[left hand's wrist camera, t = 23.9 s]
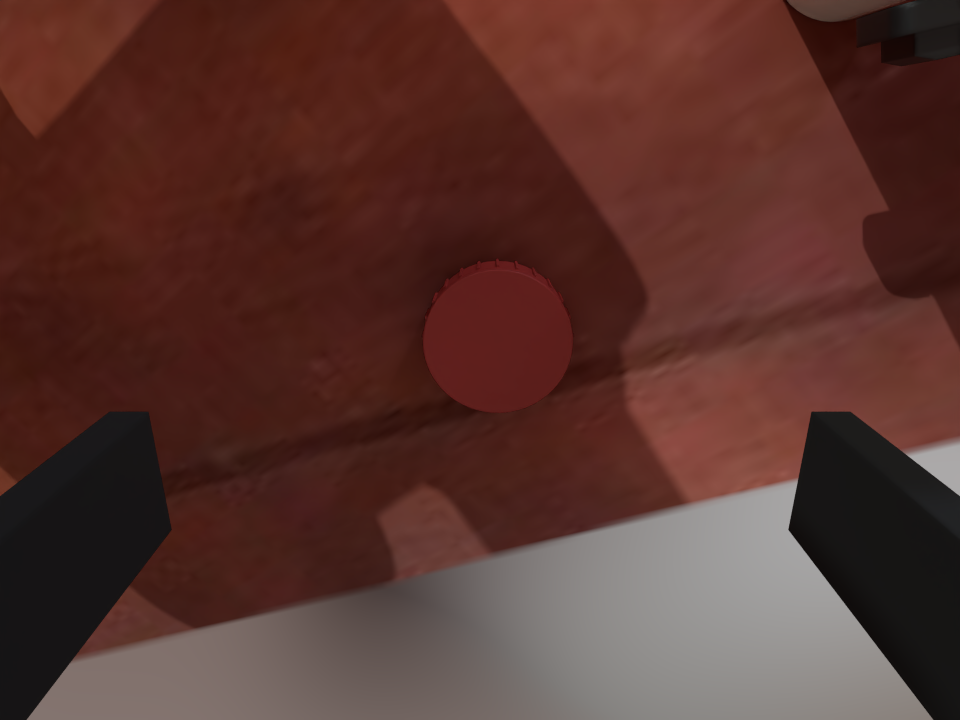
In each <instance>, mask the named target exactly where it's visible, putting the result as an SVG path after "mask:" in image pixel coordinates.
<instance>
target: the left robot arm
mask: <svg viewBox="0 0 960 720" xmlns="http://www.w3.org/2000/svg"><path fill="white" fill-rule="evenodd" d="M171 530H172V529H171V524H170V519H169V514H168V509H167V504H166V499H165V494H164V489H163V484H162V479H161V473H160V468H159V463H158V458H157V453H156V448H155V443H154V438H153V433H152V428H151V423H150V418H149V413H148V412H109V413H107V414H106V415H105V416H103V417H102V418H101V419H100V420H98V421H97V422H96V423H94V424H93V425H92V426H91V427H89V428H88V429H87V430H85V431H84V432H83V433H81V434H80V435H79V436H78V437H76V438H75V439H74V440H72V441H71V442H70V443H69V444H67V445H66V446H65V447H63V448H62V449H61V450H59V451H58V452H57V453H56V454H54V455H53V456H52V457H50V458H49V459H48V460H46V461H45V462H44V463H43V464H41V465H40V466H39V467H37V468H36V469H35V470H34V471H32V472H31V473H30V474H28V475H27V476H26V477H24V478H23V479H22V480H21V481H19V482H18V483H17V484H15V485H14V486H13V487H12V488H10V489H9V490H8V491H6V492H5V493H4V494H2V495H1V496H0V720H27V718H28V717H29V716H30V715H31V713H32V712H33V711H34V709H35V708H36V707H37V705H38V704H39V703H40V701H41V700H42V699H43V698H44V696H45V695H46V694H47V692H48V691H49V690H50V688H51V687H52V686H53V684H54V683H55V682H56V680H57V679H58V678H59V677H60V675H61V674H62V673H63V671H64V670H65V669H66V667H67V666H68V665H69V663H70V662H71V661H72V660H73V658H74V657H75V656H76V654H77V653H78V652H79V650H80V649H81V648H82V646H83V645H84V644H85V643H86V641H87V640H88V639H89V637H90V636H91V635H92V633H93V632H94V631H95V629H96V628H97V627H98V625H99V624H100V623H101V622H102V620H103V619H104V618H105V616H106V615H107V614H108V612H109V611H110V610H111V608H112V607H113V606H114V605H115V603H116V602H117V601H118V599H119V598H120V597H121V595H122V594H123V593H124V591H125V590H126V589H127V587H128V586H129V585H130V584H131V582H132V581H133V580H134V578H135V577H136V576H137V574H138V573H139V572H140V570H141V569H142V568H143V567H144V565H145V564H146V563H147V561H148V560H149V559H150V557H151V556H152V555H153V553H154V552H155V551H156V550H157V548H158V547H159V546H160V544H161V543H162V542H163V540H164V539H165V538H166V536H167V535H168V534H169V532H170V531H171ZM789 531H790V532H791V534H792V535H793V536H794V538H795V539H796V540H797V542H798V543H799V544H800V546H801V547H802V548H803V550H804V551H805V552H806V553H807V555H808V556H809V557H810V559H811V560H812V561H813V563H814V564H815V565H816V567H817V568H818V569H819V570H820V572H821V573H822V574H823V576H824V577H825V578H826V580H827V581H828V582H829V584H830V585H831V586H832V588H833V589H834V590H835V591H836V593H837V594H838V595H839V597H840V598H841V599H842V601H843V602H844V603H845V605H846V606H847V607H848V608H849V610H850V611H851V612H852V614H853V615H854V616H855V618H856V619H857V620H858V622H859V623H860V624H861V625H862V627H863V628H864V629H865V631H866V632H867V633H868V635H869V636H870V637H871V639H872V640H873V641H874V642H875V644H876V645H877V646H878V648H879V649H880V650H881V652H882V653H883V654H884V656H885V657H886V658H887V659H888V661H889V662H890V663H891V665H892V666H893V667H894V669H895V670H896V671H897V673H898V674H899V675H900V677H901V678H902V679H903V680H904V682H905V683H906V684H907V686H908V687H909V688H910V690H911V691H912V692H913V694H914V695H915V696H916V698H917V699H918V700H919V701H920V703H921V704H922V705H923V707H924V708H925V709H926V711H927V712H928V713H929V715H930V716H931V717H932V718H933V720H960V496H959V495H957V494H956V493H955V492H954V491H952V490H951V489H950V488H948V487H947V486H946V485H945V484H943V483H942V482H941V481H939V480H938V479H937V478H935V477H934V476H933V475H932V474H930V473H929V472H928V471H926V470H925V469H924V468H923V467H921V466H920V465H919V464H917V463H916V462H915V461H913V460H912V459H911V458H910V457H908V456H907V455H906V454H904V453H903V452H902V451H901V450H899V449H898V448H897V447H895V446H894V445H893V444H891V443H890V442H889V441H888V440H886V439H885V438H884V437H882V436H881V435H880V434H879V433H877V432H876V431H875V430H873V429H872V428H871V427H869V426H868V425H867V424H866V423H864V422H863V421H862V420H860V419H859V418H858V417H856V416H855V415H854V414H853V413H851V412H812V413H811V418H810V423H809V428H808V433H807V438H806V443H805V448H804V453H803V458H802V463H801V468H800V473H799V479H798V484H797V489H796V494H795V499H794V504H793V509H792V514H791V519H790V524H789Z"/></svg>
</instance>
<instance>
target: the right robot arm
mask: <svg viewBox="0 0 960 720" xmlns="http://www.w3.org/2000/svg"><path fill="white" fill-rule="evenodd" d="M856 36H857V47H862V46H866V45H870V44H875V43H879V42H881V63H887V64H892V65H898V66H905V65H911V64H916V63H922V62H927V61H933V60H938V59H942V58H947V57H951V56H955V55H960V0H917V1H913V2H909V3H905V4H901V5H898V6H894V7H891V8H887V9H884V10H881V11H878V12H875V13H872V14H869V15H866V16H863V17H860V18H857V19H856Z"/></svg>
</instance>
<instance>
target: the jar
mask: <svg viewBox="0 0 960 720" xmlns="http://www.w3.org/2000/svg"><path fill="white" fill-rule="evenodd" d="M787 1H788V3H789V4H790V5H791V6H793V7H794V8H795V9H796V10H797V11H799V12H800V13H802V14H804V15H805V16H808V17H810V18H812V19H816V20H820V21H827V22H838V21H845V20H850V19H853V18H856V17H860V16H862V15H865V14H868V13H871V12H874V11H877V10H880V9H883V8H886V7H889V6H892V5H895V4H898V3H901V2H904V1H907V0H787Z"/></svg>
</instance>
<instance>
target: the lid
mask: <svg viewBox="0 0 960 720" xmlns="http://www.w3.org/2000/svg"><path fill="white" fill-rule="evenodd" d="M563 302H564V301H563V298H562V296H561V294H560V292H556V290H555V289H554V287H553V286H552V285H551V283H550V280H549V279H548V278H547V279H545V278H544V277H543V276H542V275H540V274H539V273H537V272H536V271H535V268H533V267H532V268H531V269H530V268H528V267H526V266H523V265H520V264H518V262H517V261H514V263H513V262H508V261H499V259H496V261H487V262H482V263H481V262H480V261H478V262H477V264H475V265H472V266H469V267H467V268H465V269H463V268H461V269H460V272H458V273H457V274H455V275H454V276H453V277H451V278H450V279H448V278H447V279H446V281H445V284H444V285H443V287H442V288H441V289H440V290H439V292H438V293H437V292H436V293H435V294H434V297H433V300H432V305H431V308H428V310H427V313H426V316H425V320H426V323H425V326H424V330H423V333H422V337H423V351H424V352H423V353H424V356H425V360H426V364H427V366H428V369H429V371H430V373H431V375H432V377H433V378H434V380H435V381H436V383H437V384H438V385H439V387H440V388H441V389H442V390H443V391H444V392H445V393H446V394H448V395H449V396H450V397H451V398H453V399H454V400H456V401H457V402H459V403H461V404H462V405H465V406H467V407H469V408H472V409H475V410H478V411H484V412H491V413H505V412H512V411H517V410H520V409H523V408H526V407H528V406H531V405H533V404H535V403H536V402H538V401H540V400H541V399H543V398H544V397H545V396H547V395H548V394H549V393H550V392H551V391H552V390H553V389H554V388H555V387H556V386H557V384H558V383H559V382H560V380H561V379H562V377H563V376H564V374H565V372H566V370H567V368H568V365H569V363H570V359H571V355H572V348H573V337H574V334H573V332H572V327H571V323H570V319H571V316H570V314H569V312H568V310H567V308H565V307H564V305H563Z"/></svg>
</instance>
